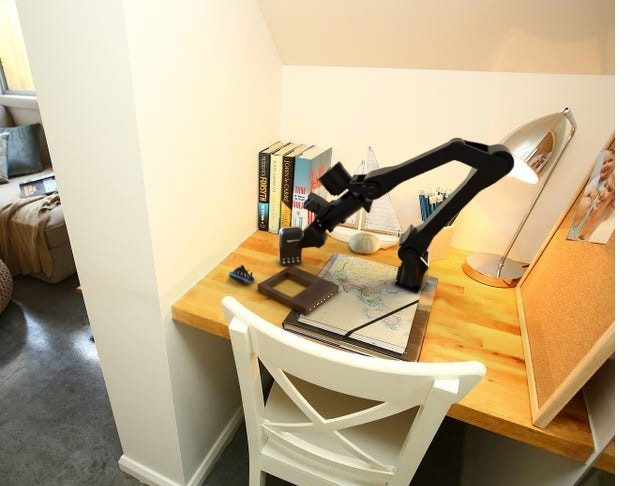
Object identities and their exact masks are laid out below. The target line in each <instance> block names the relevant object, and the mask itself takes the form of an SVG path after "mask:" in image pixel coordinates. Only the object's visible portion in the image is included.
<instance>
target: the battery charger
mask: <svg viewBox="0 0 640 486" xmlns="http://www.w3.org/2000/svg"><path fill="white" fill-rule="evenodd" d="M303 230H304V229H303V228H302V227H301V226H299V225H294V226H283V227H282V228H280V229H279V231H278V263H279V265H280V266H282V267H289V266H290V265H292V266H297V265H298V266H299V265H301V264H302V254H303V253H302V252H303V249H295V247H294V246H295V245H296V244H297V242H298V241H299V240H300V239H301V238H302V237H303V236H304V233H303Z"/></svg>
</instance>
